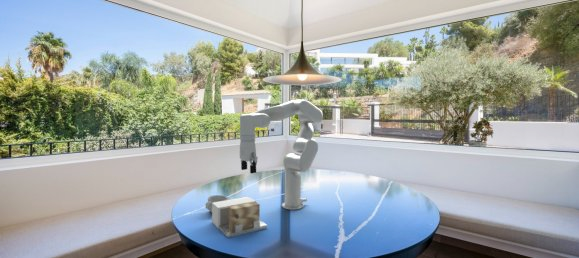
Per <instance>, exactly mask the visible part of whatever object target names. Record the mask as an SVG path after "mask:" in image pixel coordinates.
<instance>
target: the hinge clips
mask: <svg viewBox="0 0 579 258" xmlns="http://www.w3.org/2000/svg"><path fill="white" fill-rule="evenodd" d="M217 229H218V230H219V231H220V232H221V233H222V234H223V235H224V236H226V238H229V239H230V238H233V237H237V236H241V235H245V234H250V233H253V232H257V231H261V230H265V229H268V224H266V223H265V222H264V221H262V220H261V219H259V220H254V221H253V226H251V227H247V228H242V224H241V223H240V224H236V225H235V230H234V231H232V230H231V229H229V223H227V224H222V225H218V228H217Z"/></svg>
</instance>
